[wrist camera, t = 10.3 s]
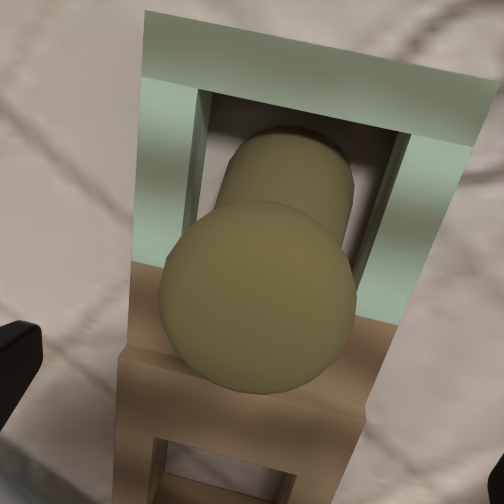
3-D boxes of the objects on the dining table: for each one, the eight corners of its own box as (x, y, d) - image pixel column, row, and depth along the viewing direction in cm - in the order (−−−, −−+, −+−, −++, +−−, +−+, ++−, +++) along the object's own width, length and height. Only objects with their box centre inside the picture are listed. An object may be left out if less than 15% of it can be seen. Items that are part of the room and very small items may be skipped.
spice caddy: (298, 530, 30) (295, 585, 27) (132, 483, 31) (110, 532, 28) (477, 77, 16) (512, 84, 13) (168, 15, 17) (133, 7, 14)
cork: (358, 246, 20) (385, 434, 10) (235, 256, 21) (157, 431, 12) (349, 115, 18) (373, 200, 8) (211, 135, 19) (86, 229, 9)
